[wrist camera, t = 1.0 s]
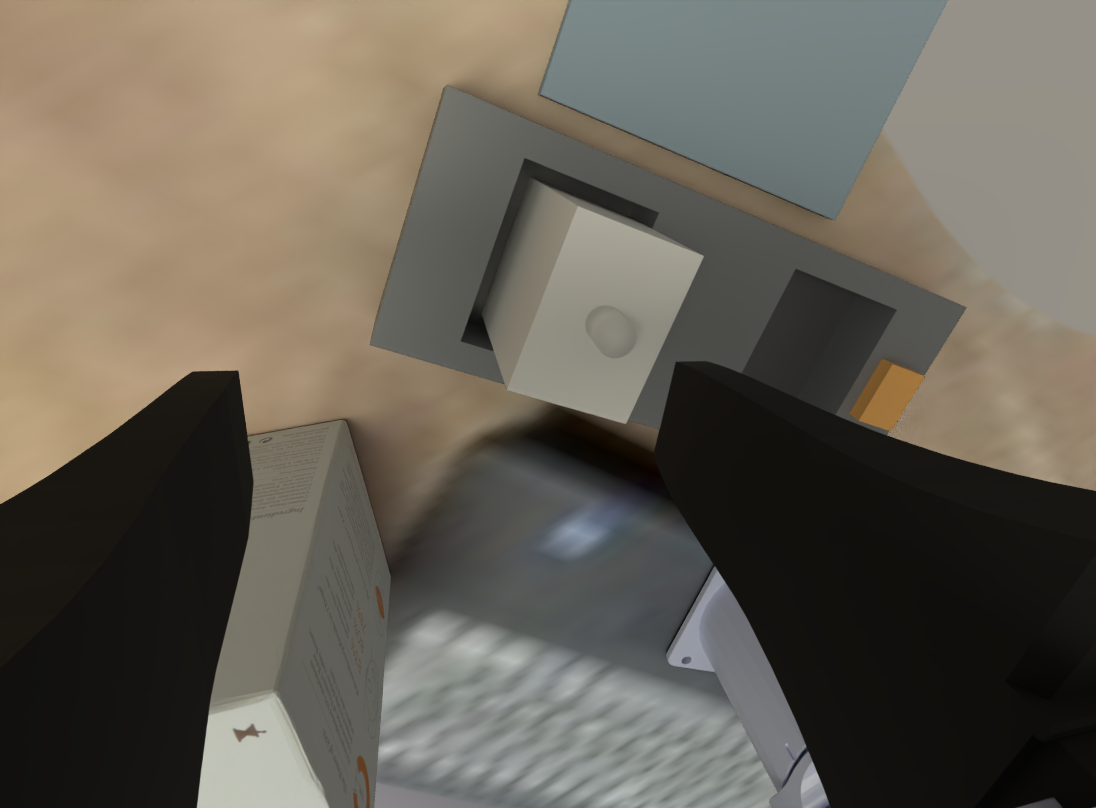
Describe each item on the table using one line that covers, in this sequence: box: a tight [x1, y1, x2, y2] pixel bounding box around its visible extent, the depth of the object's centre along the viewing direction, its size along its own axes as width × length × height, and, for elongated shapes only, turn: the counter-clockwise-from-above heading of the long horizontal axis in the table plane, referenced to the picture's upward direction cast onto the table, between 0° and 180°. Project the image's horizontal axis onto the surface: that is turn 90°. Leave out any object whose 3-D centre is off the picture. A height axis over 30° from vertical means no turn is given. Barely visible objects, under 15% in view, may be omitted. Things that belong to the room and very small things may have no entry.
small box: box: [197, 420, 391, 808], centre depth 20 cm, size 8×6×13 cm
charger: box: [481, 177, 704, 424], centre depth 19 cm, size 4×5×8 cm
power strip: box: [370, 85, 967, 435], centre depth 24 cm, size 20×8×4 cm, turn 69°
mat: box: [538, 0, 948, 220], centre depth 21 cm, size 12×10×1 cm
